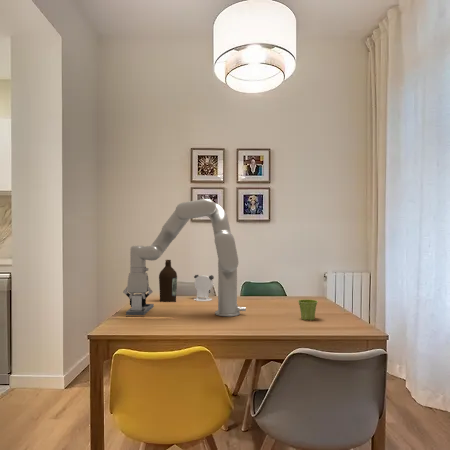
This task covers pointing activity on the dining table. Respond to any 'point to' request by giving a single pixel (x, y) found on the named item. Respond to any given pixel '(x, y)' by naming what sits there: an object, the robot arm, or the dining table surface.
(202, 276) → the panda figurine
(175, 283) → the olive oil
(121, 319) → the dining table surface
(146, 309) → the rail
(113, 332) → the dining table surface
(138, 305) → the block
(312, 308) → the plant pot
